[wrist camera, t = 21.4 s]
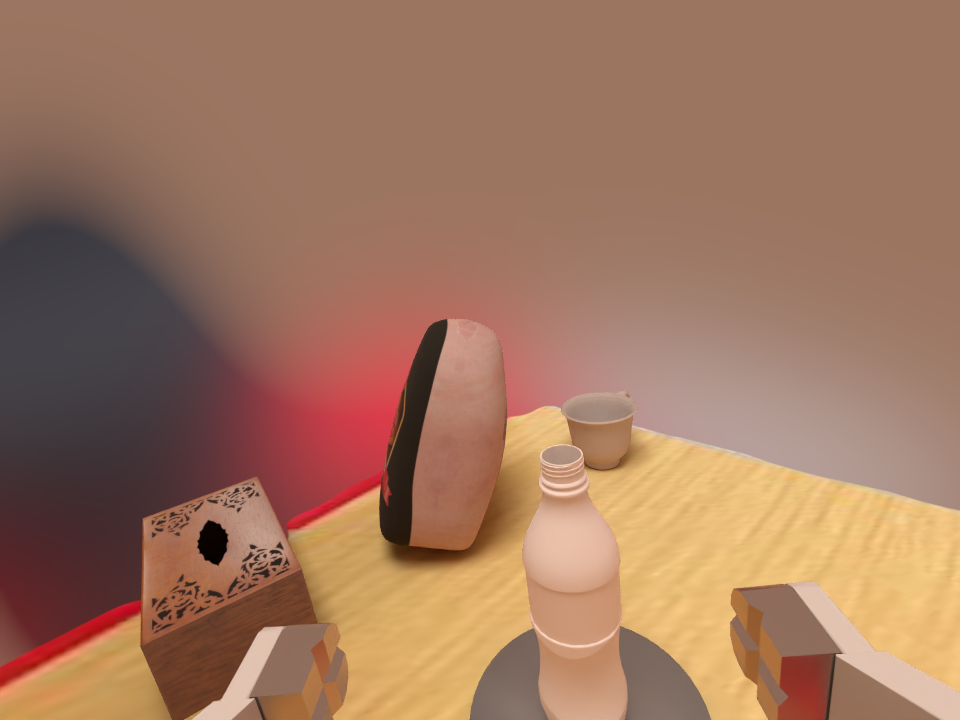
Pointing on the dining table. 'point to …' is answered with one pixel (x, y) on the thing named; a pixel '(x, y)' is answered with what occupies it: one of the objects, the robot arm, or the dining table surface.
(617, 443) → the teacup
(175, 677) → the tissue box cover
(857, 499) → the dining table surface
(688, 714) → the plate
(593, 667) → the water bottle
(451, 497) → the packaged food
